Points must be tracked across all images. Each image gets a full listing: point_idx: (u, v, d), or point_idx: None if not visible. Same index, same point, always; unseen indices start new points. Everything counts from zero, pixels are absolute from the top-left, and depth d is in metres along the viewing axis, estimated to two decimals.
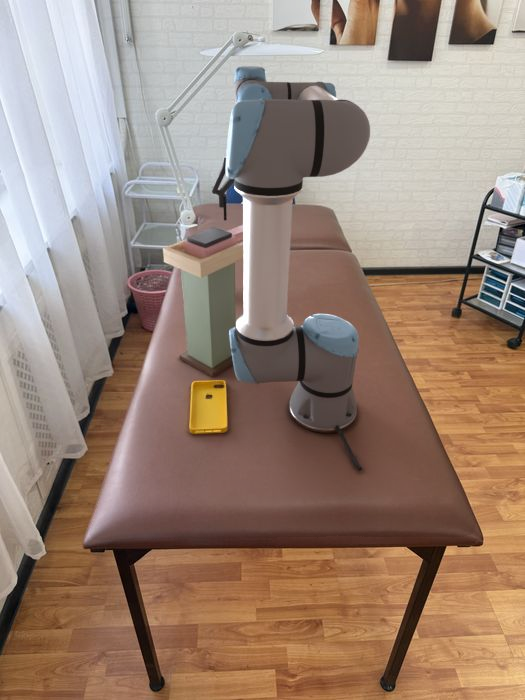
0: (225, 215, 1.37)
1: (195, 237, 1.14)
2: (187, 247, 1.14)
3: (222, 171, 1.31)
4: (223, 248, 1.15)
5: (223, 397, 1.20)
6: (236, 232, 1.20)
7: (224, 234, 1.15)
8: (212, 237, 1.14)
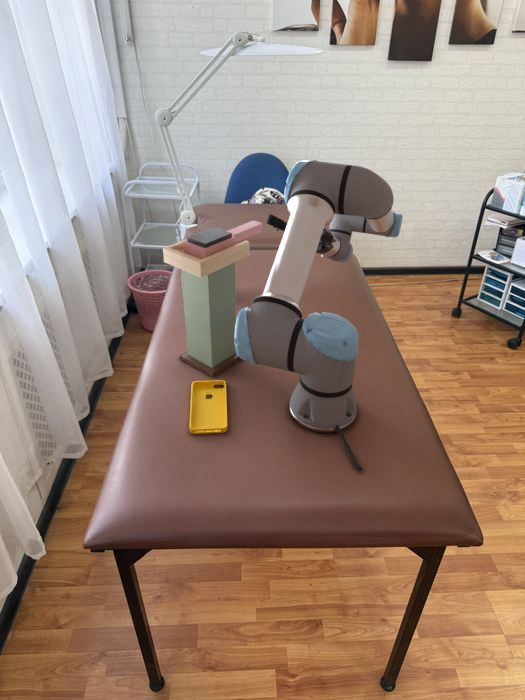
0: (273, 215, 1.42)
1: (195, 237, 1.14)
2: (187, 247, 1.14)
3: None
4: (223, 248, 1.15)
5: (223, 397, 1.20)
6: (236, 232, 1.20)
7: (224, 234, 1.15)
8: (212, 237, 1.14)
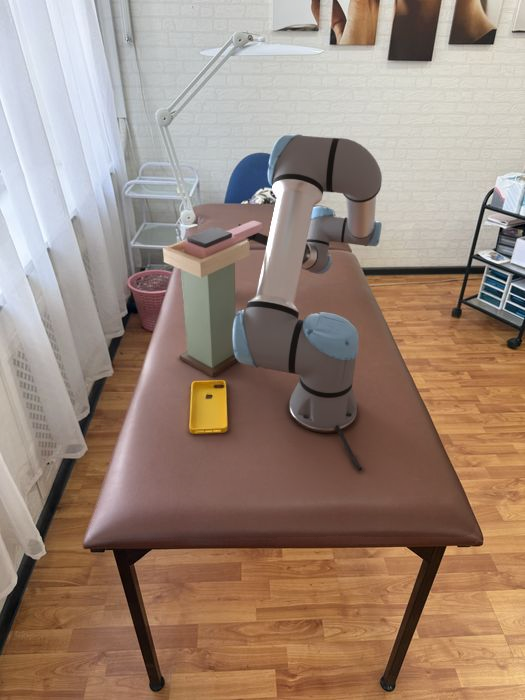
0: None
1: (195, 237, 1.14)
2: (187, 247, 1.14)
3: None
4: (223, 248, 1.15)
5: (223, 397, 1.20)
6: (236, 232, 1.20)
7: (224, 234, 1.15)
8: (212, 237, 1.14)
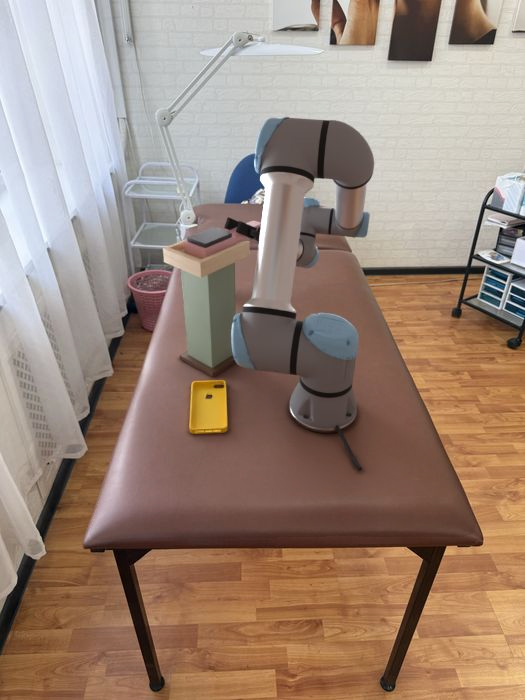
0: (232, 219, 1.22)
1: (195, 237, 1.14)
2: (187, 247, 1.14)
3: None
4: (223, 248, 1.15)
5: (223, 397, 1.20)
6: (236, 232, 1.20)
7: (224, 234, 1.15)
8: (212, 237, 1.14)
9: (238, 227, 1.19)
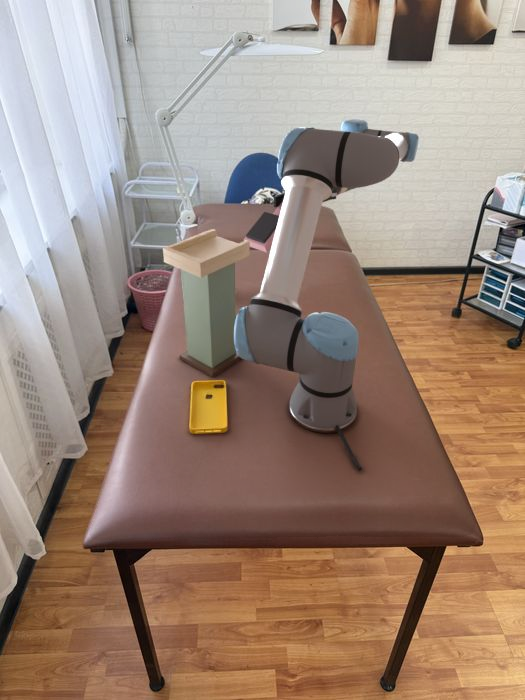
0: (278, 195, 1.32)
1: (252, 233, 1.29)
2: None
3: None
4: None
5: (223, 397, 1.20)
6: None
7: (276, 221, 1.29)
8: (267, 229, 1.28)
9: None
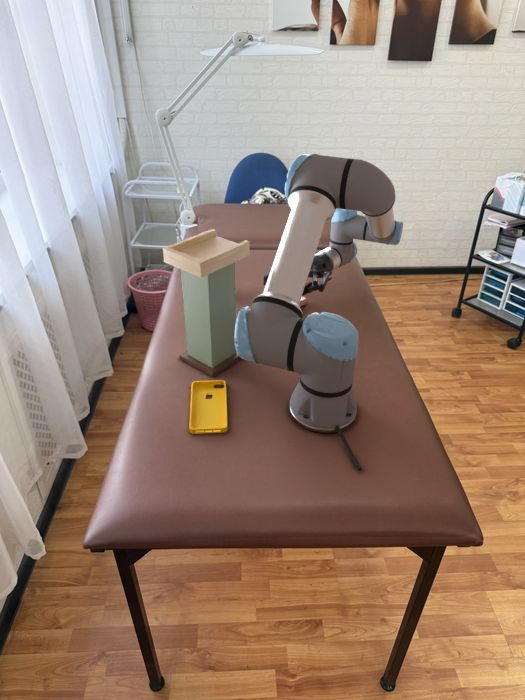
0: (267, 275, 1.49)
1: None
2: None
3: None
4: None
5: (223, 397, 1.20)
6: None
7: None
8: None
9: None
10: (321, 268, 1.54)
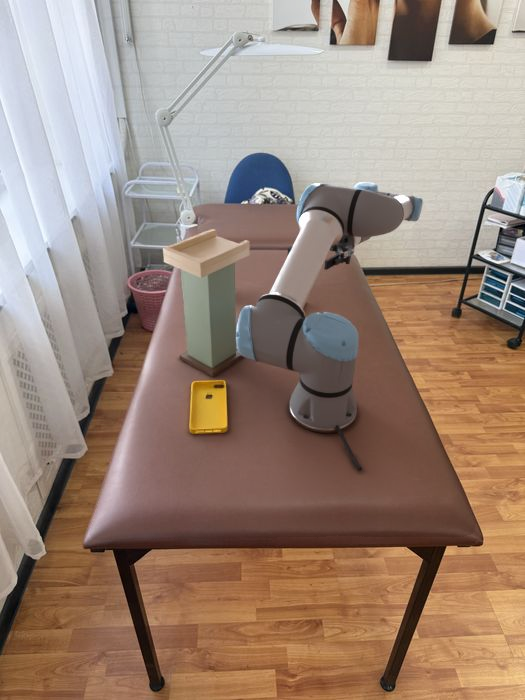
0: (291, 247, 1.55)
1: None
2: None
3: None
4: None
5: (223, 397, 1.20)
6: None
7: None
8: None
9: (325, 265, 1.48)
10: (343, 242, 1.59)
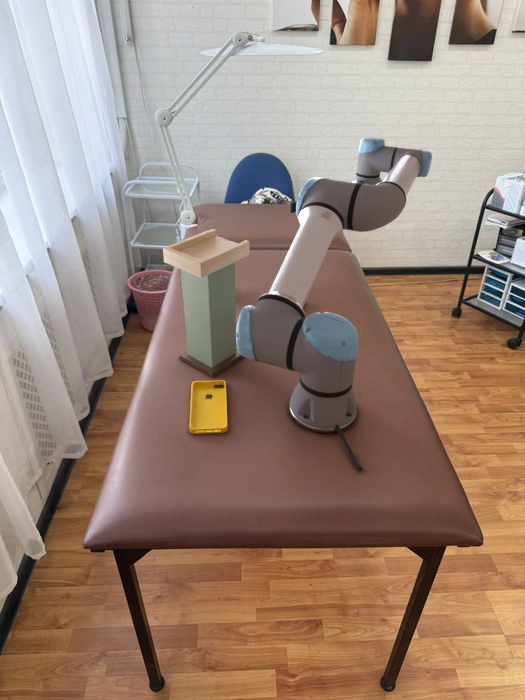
0: (294, 202, 1.47)
1: None
2: None
3: None
4: None
5: (223, 397, 1.20)
6: None
7: None
8: None
9: None
10: None
